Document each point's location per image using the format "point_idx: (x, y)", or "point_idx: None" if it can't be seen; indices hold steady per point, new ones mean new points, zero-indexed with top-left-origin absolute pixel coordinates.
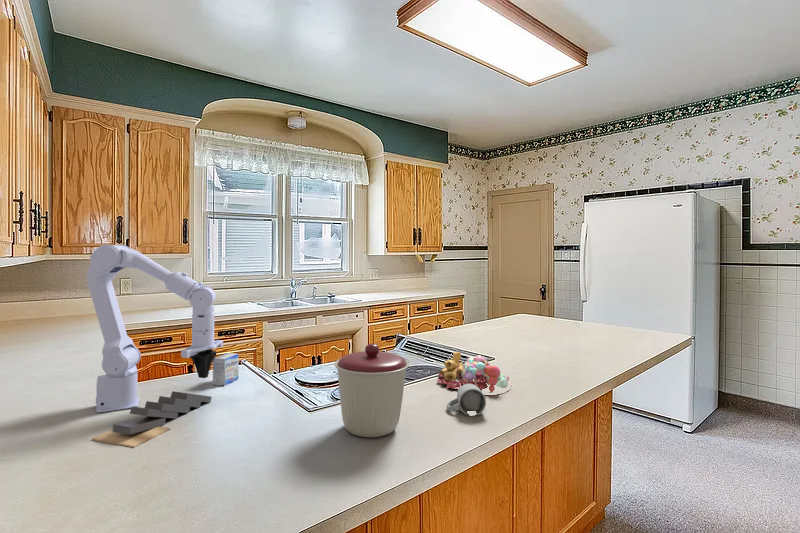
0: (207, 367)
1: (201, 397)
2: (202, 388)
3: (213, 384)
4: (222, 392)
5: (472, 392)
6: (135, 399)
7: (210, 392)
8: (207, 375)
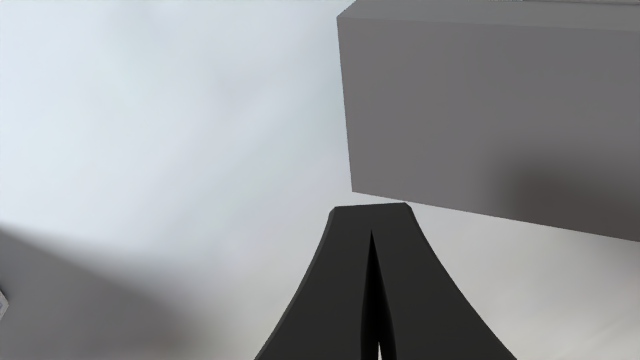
0: (362, 319)
1: (528, 17)
2: (119, 309)
3: (6, 301)
4: (77, 106)
5: None
6: None
7: (146, 198)
8: (348, 217)
